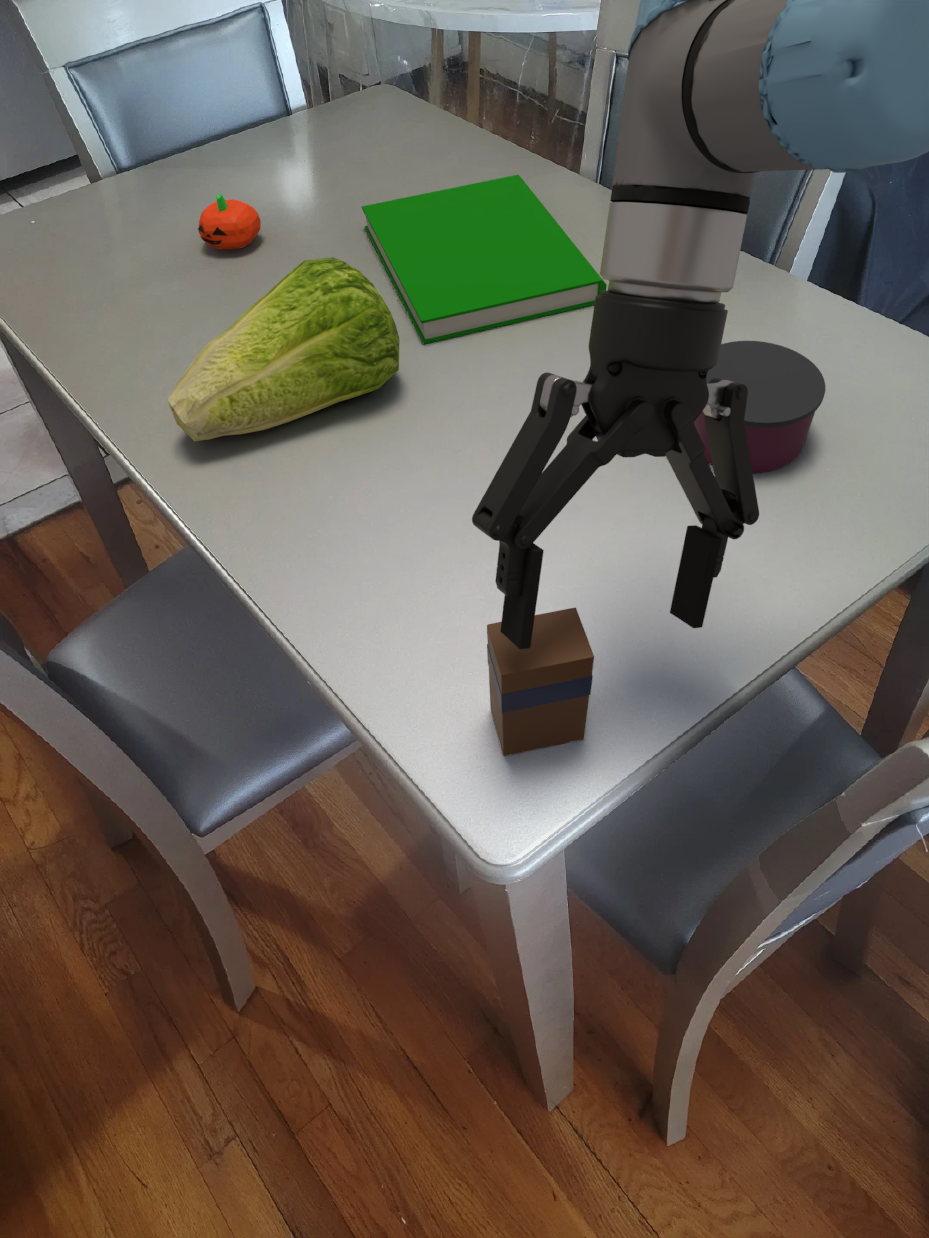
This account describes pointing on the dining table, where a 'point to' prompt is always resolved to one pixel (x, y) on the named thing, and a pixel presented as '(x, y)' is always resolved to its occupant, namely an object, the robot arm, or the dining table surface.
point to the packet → (540, 683)
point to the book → (479, 258)
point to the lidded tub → (770, 399)
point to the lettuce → (290, 354)
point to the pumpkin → (228, 224)
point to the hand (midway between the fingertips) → (604, 630)
